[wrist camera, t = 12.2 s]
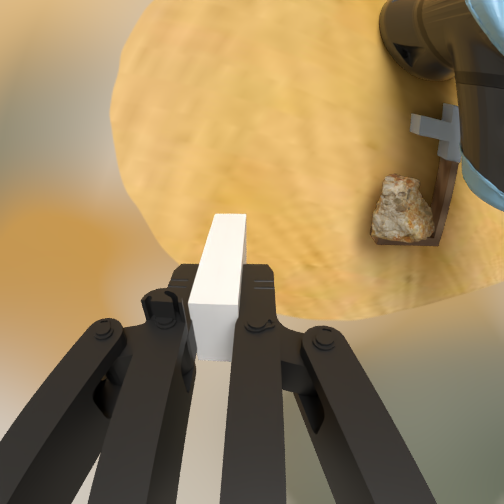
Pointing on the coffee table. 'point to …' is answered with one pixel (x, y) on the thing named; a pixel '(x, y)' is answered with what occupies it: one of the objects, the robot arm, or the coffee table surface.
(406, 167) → the coffee table surface
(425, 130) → the t block
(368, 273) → the coffee table surface
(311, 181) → the coffee table surface
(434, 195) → the brown l-shaped block
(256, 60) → the coffee table surface
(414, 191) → the rock
